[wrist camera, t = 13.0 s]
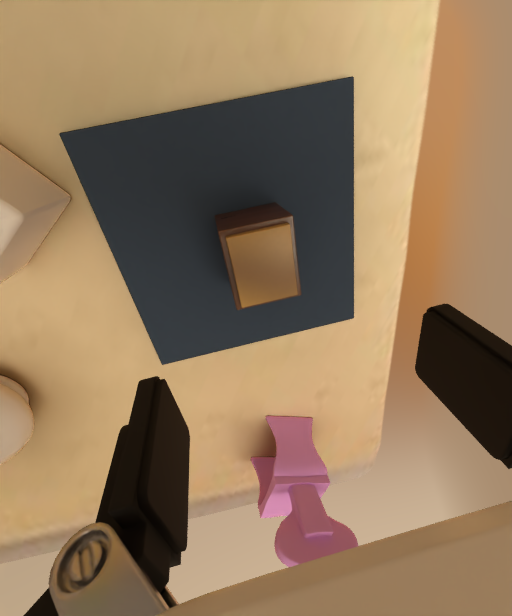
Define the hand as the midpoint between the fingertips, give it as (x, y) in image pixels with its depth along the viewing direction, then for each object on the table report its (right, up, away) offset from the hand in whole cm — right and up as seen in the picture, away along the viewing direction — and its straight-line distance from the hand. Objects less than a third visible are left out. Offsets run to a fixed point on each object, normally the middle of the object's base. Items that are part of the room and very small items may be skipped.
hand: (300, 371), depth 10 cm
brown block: (-2, +8, +14) cm, 16 cm away
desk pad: (-3, +8, +14) cm, 17 cm away
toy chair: (+2, -15, +28) cm, 32 cm away
